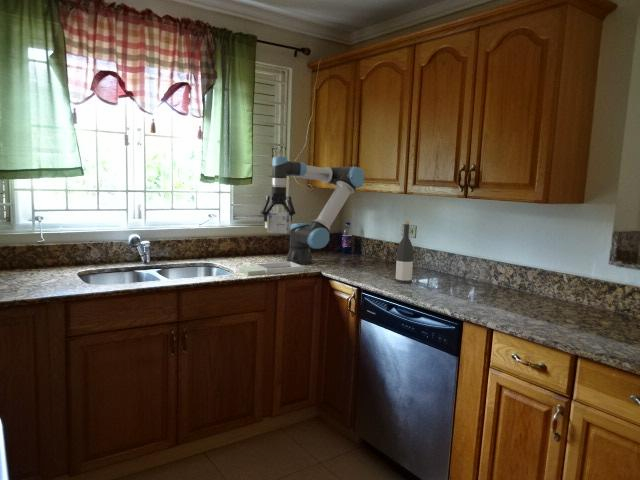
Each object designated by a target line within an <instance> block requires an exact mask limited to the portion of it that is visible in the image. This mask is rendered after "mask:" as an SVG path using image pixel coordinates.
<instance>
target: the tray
mask: <svg viewBox="0 0 640 480" xmlns="http://www.w3.org/2000/svg"><path fill="white" fill-rule="evenodd" d="M253 266H256V267H258V268H260V269H263V270H265V274H266V275H273V274H284V273H297V272H305V265H299V264H296V263H293V262H287V261H278V262H265V263H264V262H261V263H253ZM265 274H264V275H265Z"/></svg>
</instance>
